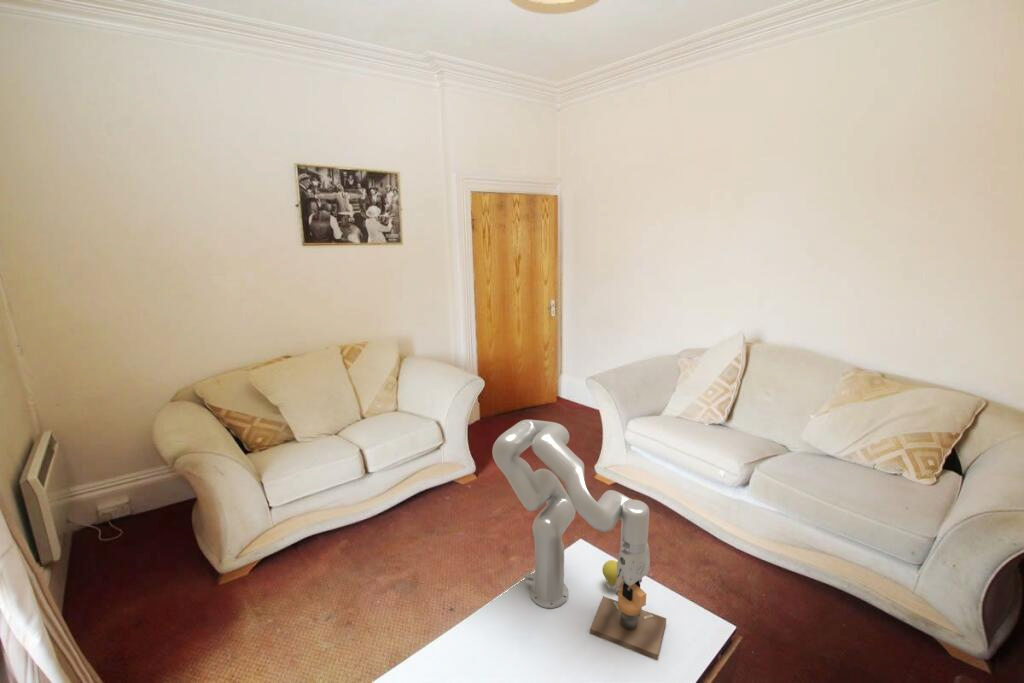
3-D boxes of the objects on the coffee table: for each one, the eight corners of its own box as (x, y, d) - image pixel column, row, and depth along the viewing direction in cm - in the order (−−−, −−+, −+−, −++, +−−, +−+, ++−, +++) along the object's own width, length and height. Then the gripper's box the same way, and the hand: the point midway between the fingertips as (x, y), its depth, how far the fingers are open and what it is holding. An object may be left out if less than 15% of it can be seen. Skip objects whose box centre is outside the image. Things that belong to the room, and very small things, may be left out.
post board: (589, 633, 142) (590, 612, 140) (602, 601, 154) (603, 580, 152) (657, 660, 133) (659, 637, 131) (665, 623, 145) (667, 602, 143)
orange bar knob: (650, 612, 139) (652, 590, 137) (633, 623, 136) (634, 600, 134) (625, 589, 148) (626, 568, 146) (608, 598, 145) (609, 576, 143)
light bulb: (621, 596, 156) (623, 571, 153) (601, 593, 157) (602, 568, 155) (621, 581, 162) (622, 557, 160) (601, 579, 164) (602, 554, 161)
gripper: (625, 561, 128) (623, 616, 133) (662, 537, 138) (658, 589, 142) (605, 547, 134) (602, 600, 139) (641, 524, 144) (638, 575, 148)
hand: (631, 594), depth 140 cm, fingers closed on orange bar knob, 2 cm apart
